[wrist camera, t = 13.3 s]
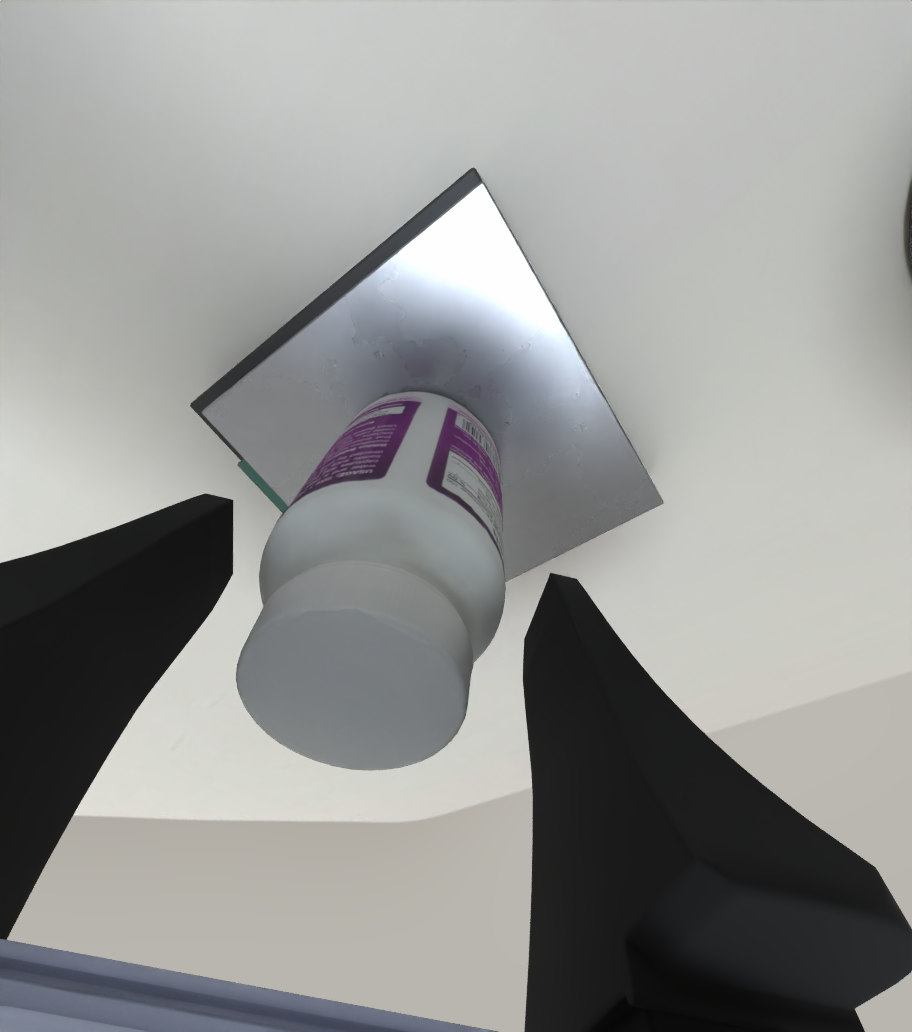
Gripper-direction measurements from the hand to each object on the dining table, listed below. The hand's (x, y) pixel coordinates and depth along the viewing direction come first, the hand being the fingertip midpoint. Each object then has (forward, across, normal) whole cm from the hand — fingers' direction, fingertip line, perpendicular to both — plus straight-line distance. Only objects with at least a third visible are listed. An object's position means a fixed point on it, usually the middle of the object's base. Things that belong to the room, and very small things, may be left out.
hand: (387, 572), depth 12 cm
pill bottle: (+6, 0, 0) cm, 6 cm away
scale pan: (+7, 0, 0) cm, 7 cm away
